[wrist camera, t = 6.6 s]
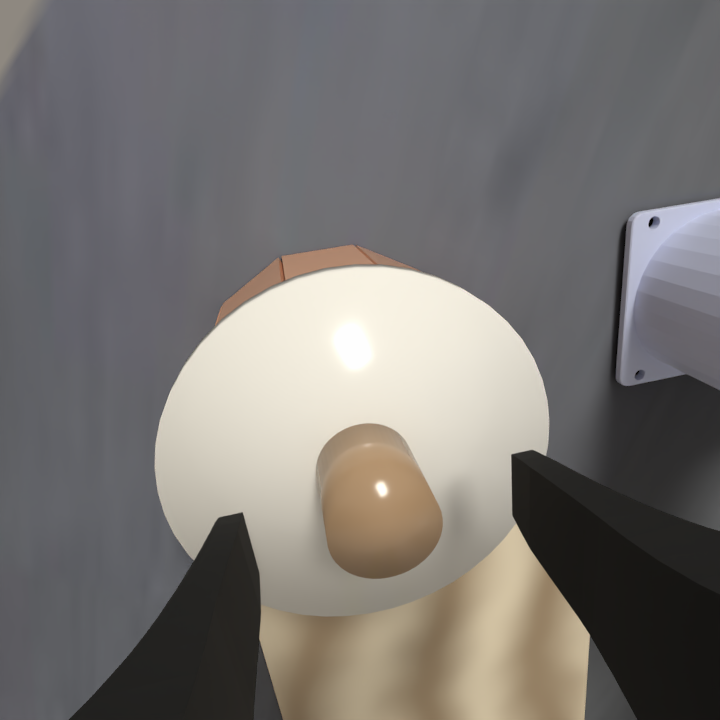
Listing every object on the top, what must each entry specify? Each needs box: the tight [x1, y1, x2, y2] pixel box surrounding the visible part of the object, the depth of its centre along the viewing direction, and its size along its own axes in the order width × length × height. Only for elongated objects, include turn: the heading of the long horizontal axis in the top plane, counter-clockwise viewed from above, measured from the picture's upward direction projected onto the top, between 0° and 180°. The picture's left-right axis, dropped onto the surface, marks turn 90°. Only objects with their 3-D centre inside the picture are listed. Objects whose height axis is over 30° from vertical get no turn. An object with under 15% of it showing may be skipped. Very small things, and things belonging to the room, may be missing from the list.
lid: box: [155, 264, 549, 617], centre depth 15 cm, size 13×13×4 cm
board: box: [259, 524, 590, 720], centre depth 28 cm, size 18×18×1 cm
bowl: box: [215, 245, 421, 325], centre depth 19 cm, size 11×11×5 cm
